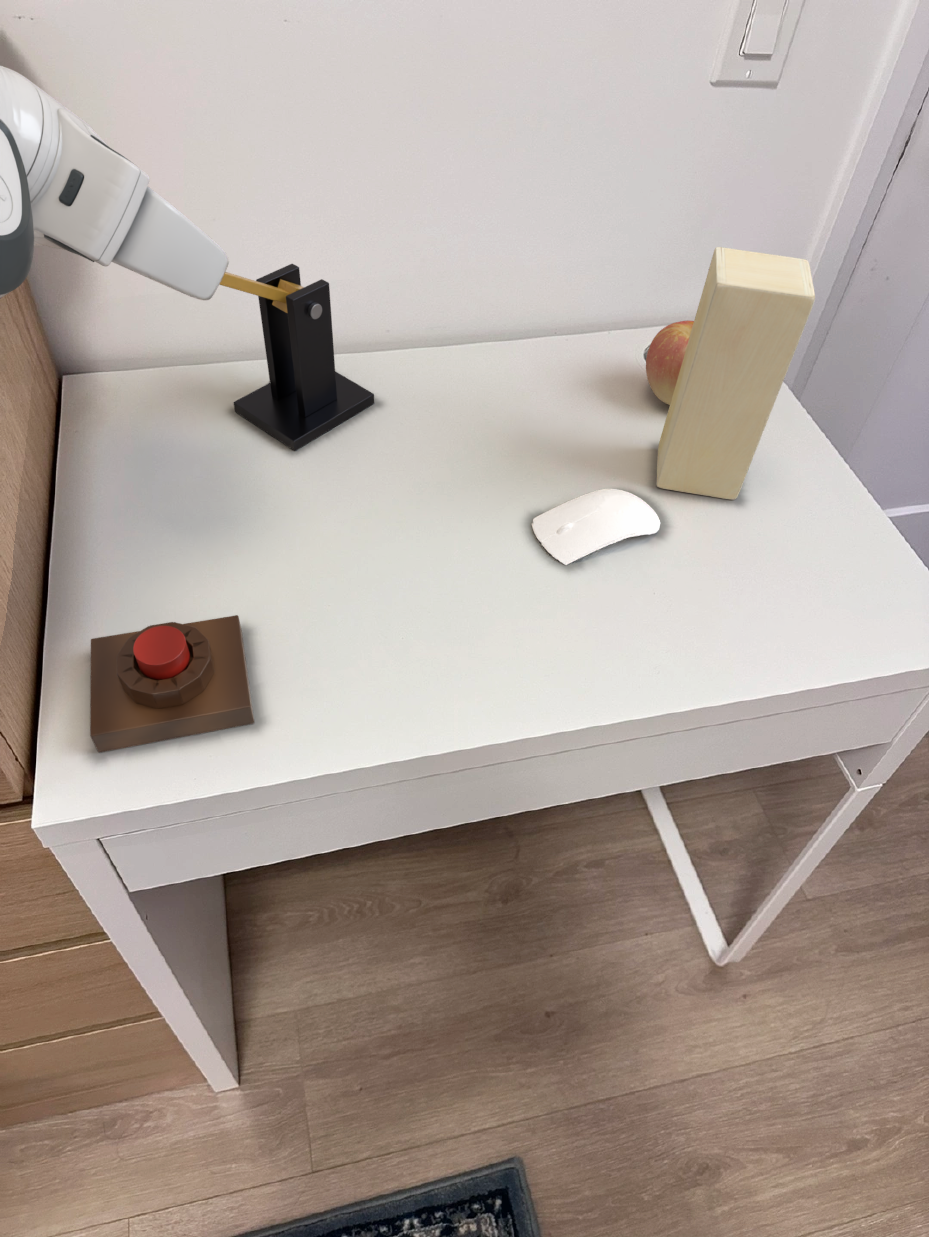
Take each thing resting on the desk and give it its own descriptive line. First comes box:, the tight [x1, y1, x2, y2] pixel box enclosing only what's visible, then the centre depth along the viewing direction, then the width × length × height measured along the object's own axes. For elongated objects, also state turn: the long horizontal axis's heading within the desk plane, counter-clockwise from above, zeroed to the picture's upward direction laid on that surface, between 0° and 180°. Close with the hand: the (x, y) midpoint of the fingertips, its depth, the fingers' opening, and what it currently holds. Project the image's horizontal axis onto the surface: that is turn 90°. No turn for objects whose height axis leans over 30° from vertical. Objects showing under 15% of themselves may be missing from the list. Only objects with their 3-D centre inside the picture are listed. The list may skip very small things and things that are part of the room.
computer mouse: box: [531, 488, 661, 566], centre depth 79 cm, size 7×12×2 cm, turn 115°
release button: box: [133, 626, 190, 680], centre depth 63 cm, size 4×4×2 cm
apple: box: [645, 320, 694, 406], centre depth 92 cm, size 9×9×8 cm
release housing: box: [89, 614, 255, 753], centre depth 65 cm, size 11×9×4 cm
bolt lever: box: [219, 271, 305, 313], centre depth 75 cm, size 16×5×2 cm
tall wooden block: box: [656, 246, 816, 500], centre depth 78 cm, size 8×7×21 cm
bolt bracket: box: [233, 263, 375, 452], centre depth 85 cm, size 11×9×14 cm
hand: (184, 264), depth 70 cm, fingers closed on bolt lever, 5 cm apart
